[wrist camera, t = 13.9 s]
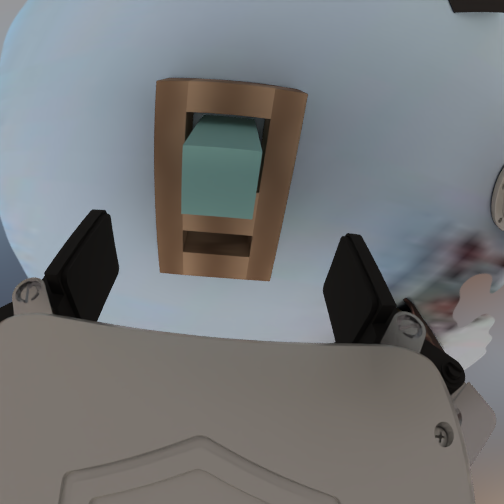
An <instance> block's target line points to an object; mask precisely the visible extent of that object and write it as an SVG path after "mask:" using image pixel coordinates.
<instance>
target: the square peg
mask: <svg viewBox="0 0 504 504" xmlns="http://www.w3.org/2000/svg"><path fill="white" fill-rule="evenodd" d="M261 158H262V148H261V144H260V140H259V136H258V132H257V127H256V123H255V119H251V118H241V117H231V116H218V115H203V116H202V118H201V119H200V121H199V122H198V123H197V125H196V126H195V128H194V129H193V131H192V132H191V134H190V135H189V137H188V138H187V140H186V141H185V143H184V144H183V153H182V190H181V214H190V215H204V216H217V217H229V218H241V219H252V218H253V211H254V205H255V198H256V191H257V184H258V178H259V171H260V164H261Z"/></svg>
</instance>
